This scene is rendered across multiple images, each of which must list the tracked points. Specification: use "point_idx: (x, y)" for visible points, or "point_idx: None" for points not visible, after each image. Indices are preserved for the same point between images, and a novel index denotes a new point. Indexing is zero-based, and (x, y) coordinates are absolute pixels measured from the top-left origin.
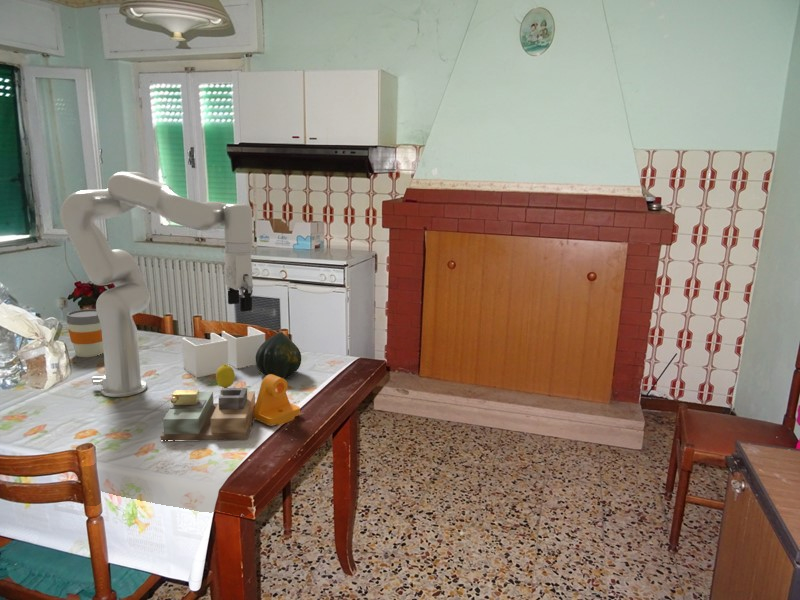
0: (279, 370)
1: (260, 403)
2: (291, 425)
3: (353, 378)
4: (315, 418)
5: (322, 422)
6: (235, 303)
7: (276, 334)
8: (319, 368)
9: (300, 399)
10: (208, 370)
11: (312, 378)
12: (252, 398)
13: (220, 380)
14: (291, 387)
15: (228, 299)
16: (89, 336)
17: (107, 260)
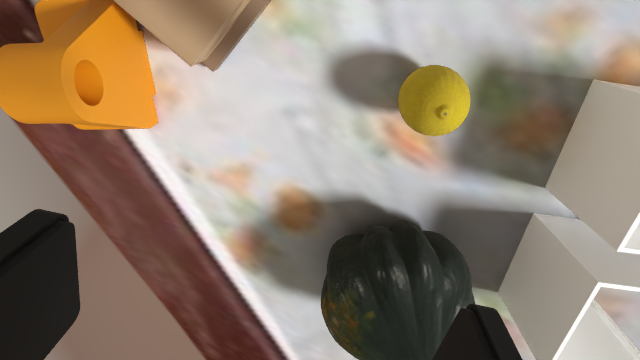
0: (336, 248)
1: (81, 13)
2: None
3: (232, 349)
4: (58, 138)
5: (25, 134)
6: (435, 356)
7: None
8: None
9: (196, 191)
10: (583, 127)
11: (301, 295)
12: (137, 19)
13: (420, 69)
14: (286, 226)
15: (498, 350)
16: None
17: None
